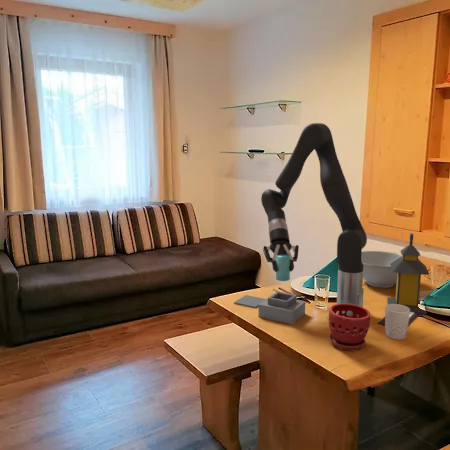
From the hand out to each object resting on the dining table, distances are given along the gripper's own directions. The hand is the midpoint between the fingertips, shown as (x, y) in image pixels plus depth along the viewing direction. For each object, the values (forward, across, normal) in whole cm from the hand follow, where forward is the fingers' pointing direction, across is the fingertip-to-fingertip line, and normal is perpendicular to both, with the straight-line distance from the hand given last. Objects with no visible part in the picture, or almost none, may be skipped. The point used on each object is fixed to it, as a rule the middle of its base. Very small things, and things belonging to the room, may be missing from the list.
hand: (283, 270), depth 168 cm
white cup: (+27, +36, +1) cm, 44 cm away
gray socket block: (+12, 0, +14) cm, 19 cm away
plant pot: (+30, +17, -3) cm, 35 cm away
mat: (+1, -11, +25) cm, 27 cm away
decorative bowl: (-12, +52, +39) cm, 66 cm away
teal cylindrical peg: (+1, 0, +4) cm, 4 cm away
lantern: (+8, +51, +19) cm, 55 cm away
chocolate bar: (+17, +42, +10) cm, 47 cm away
